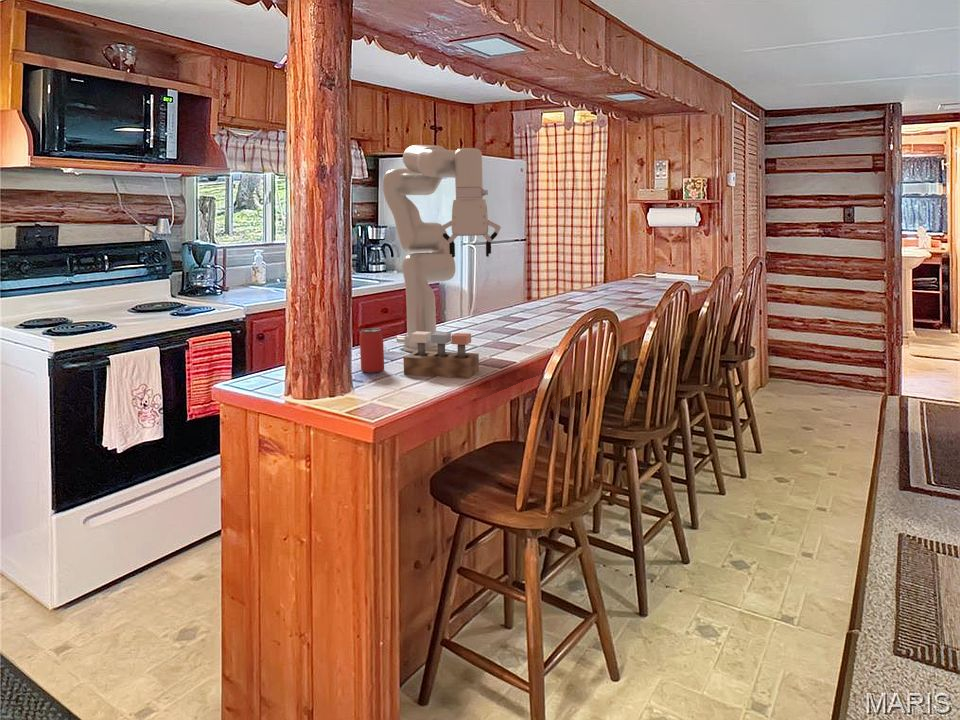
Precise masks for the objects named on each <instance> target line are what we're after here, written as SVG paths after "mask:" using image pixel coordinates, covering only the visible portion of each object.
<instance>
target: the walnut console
mask: <svg viewBox="0 0 960 720" xmlns="http://www.w3.org/2000/svg"><path fill="white" fill-rule="evenodd" d="M465 356H466V358H458V352H455V351H453V352H452V351H445V357H438V354H437V351H425V356H418V350H417V351H415V352H410V353H409V354H407V355H405V356H403V375H405V376H407V375H408V376H419V375H422V376H423V377H435V376H439V377H438V378H453V379H454V378H455V379H470V378H471V377H473V376H475V374H476V373H477V372H479V370H480V369H479V368H480V366H479V365H480V360H479V359H480V358H479V356H480V354H479V353H475V352H465Z"/></svg>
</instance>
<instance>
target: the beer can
mask: <svg viewBox="0 0 960 720" xmlns="http://www.w3.org/2000/svg"><path fill="white" fill-rule="evenodd" d="M359 349H360V351H359V352H360V353H359V354H360V368H361V369H360V370H361V371H362V373H363V372H364V373H365V372H367V373H366V374H376V373H377V372H378V373H381V372H383V371H384V370H385V356H384V355H385V353H384V352H385V351H384V336H383V333H382V330H381V328H377V327H375V328H374V327H373V328H372V327H371V328H370V327H369V328H363V329H361V332H360V336H359ZM378 373H377V374H378Z"/></svg>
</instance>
